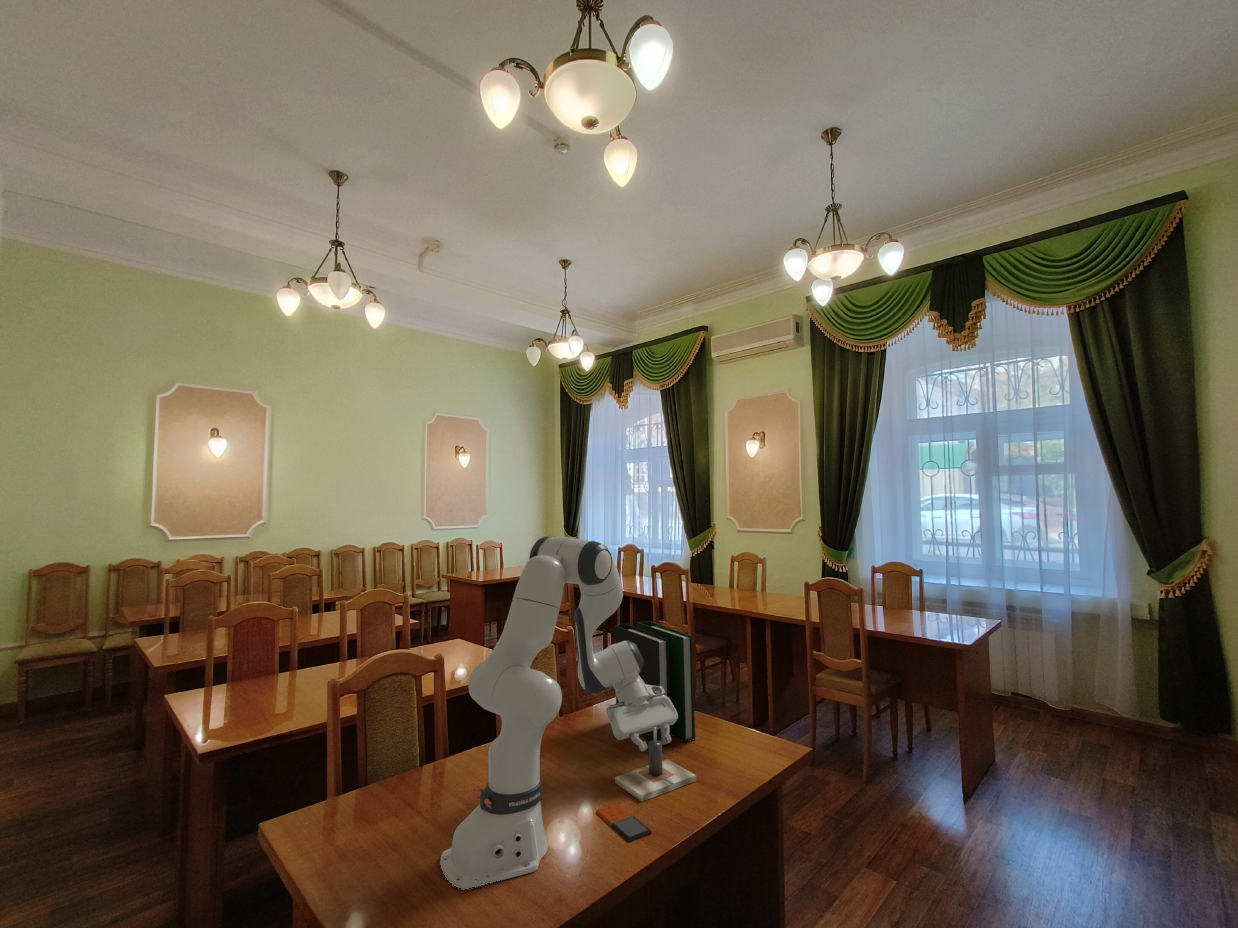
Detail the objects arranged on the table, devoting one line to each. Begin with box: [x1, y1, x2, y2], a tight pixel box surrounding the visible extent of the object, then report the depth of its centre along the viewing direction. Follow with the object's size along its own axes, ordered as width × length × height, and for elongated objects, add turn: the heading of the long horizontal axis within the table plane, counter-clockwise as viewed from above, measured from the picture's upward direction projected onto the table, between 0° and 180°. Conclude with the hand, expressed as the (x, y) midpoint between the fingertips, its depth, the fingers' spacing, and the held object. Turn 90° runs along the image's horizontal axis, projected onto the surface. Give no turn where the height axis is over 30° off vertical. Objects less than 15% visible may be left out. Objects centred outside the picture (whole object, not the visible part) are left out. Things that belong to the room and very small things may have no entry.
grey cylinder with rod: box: [648, 727, 663, 777], centre depth 157 cm, size 4×4×12 cm
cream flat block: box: [614, 758, 697, 802], centre depth 155 cm, size 18×12×2 cm, turn 124°
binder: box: [614, 620, 696, 748], centre depth 191 cm, size 27×15×32 cm, turn 28°
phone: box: [595, 802, 653, 843], centre depth 136 cm, size 6×1×15 cm
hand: (656, 745), depth 156 cm, fingers open, 7 cm apart
